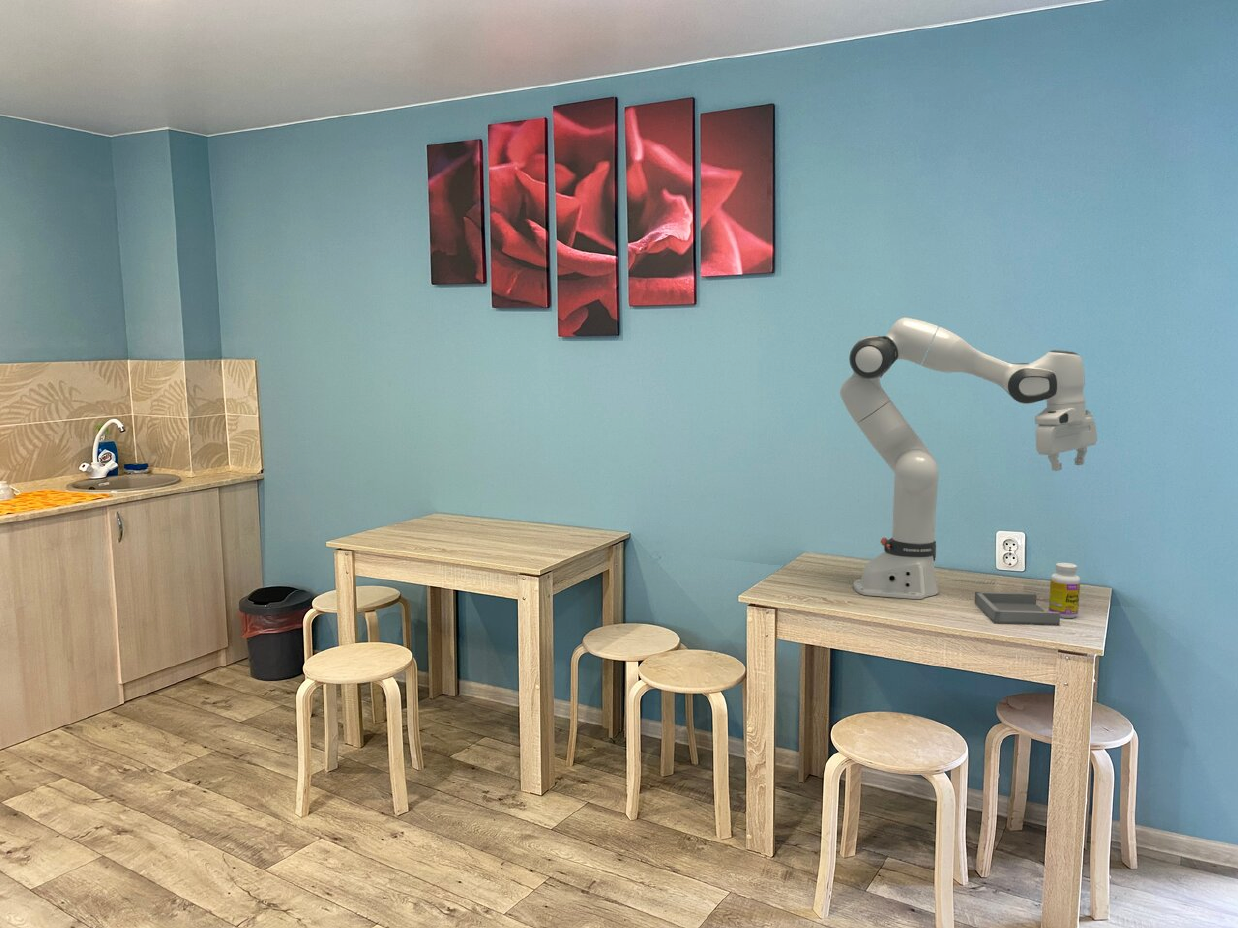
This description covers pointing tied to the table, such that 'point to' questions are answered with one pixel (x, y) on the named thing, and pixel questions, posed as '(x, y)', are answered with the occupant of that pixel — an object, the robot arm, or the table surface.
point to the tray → (1014, 608)
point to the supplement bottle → (1065, 591)
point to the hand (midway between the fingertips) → (1068, 467)
